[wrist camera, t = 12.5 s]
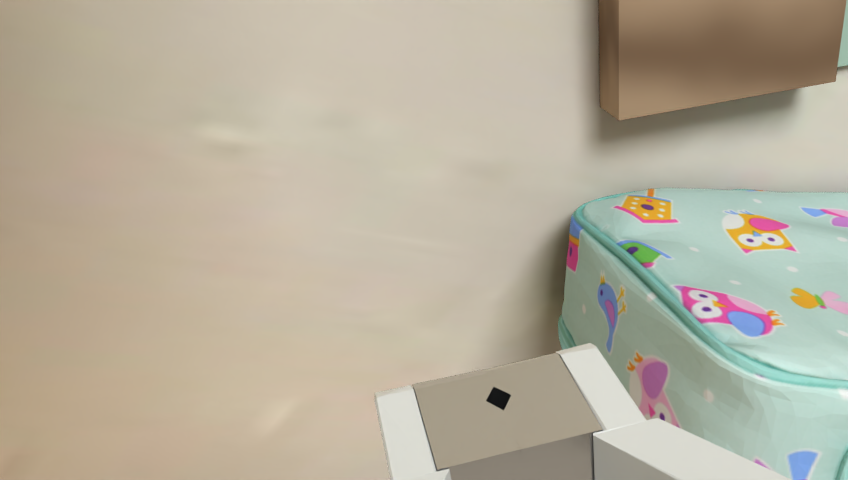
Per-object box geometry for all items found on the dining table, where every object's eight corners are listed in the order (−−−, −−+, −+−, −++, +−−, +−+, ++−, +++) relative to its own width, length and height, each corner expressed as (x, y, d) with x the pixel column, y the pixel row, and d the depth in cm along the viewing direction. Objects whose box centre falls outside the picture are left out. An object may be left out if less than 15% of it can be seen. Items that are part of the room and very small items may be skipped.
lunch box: (506, 328, 46) (669, 651, 27) (533, 170, 42) (750, 425, 23) (879, 323, 51) (1231, 588, 33) (938, 183, 47) (1385, 397, 28)
